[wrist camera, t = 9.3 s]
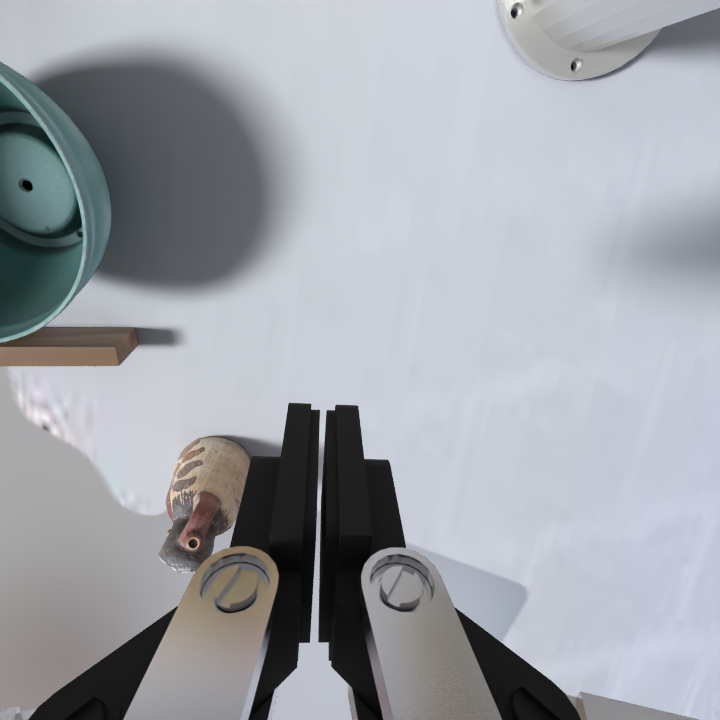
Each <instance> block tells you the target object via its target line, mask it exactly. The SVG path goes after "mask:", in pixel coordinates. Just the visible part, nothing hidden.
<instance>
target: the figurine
mask: <svg viewBox="0 0 720 720" xmlns="http://www.w3.org/2000/svg"><path fill="white" fill-rule="evenodd" d="M250 462H251V461H250V459H249V457H248V454H247V453H246V452H245V451H244V449H243V448H242V447H241V446H239V445H238V444H237V443H235V442H233V441H230V440H228V439H225V438H219V437H205V438H200V439H197V440H195V441H194V442H192V443H191V444H189V445H188V446H187V447H186V448H185V449H184V450H183V451H182V452H181V454H180V456H179V458H178V460H177V462H176V465H175V469H174V475H173V479H172V482H171V485H170V488H169V492H168V494H167V498H166V506H167V510H168V514H169V516H170V518H171V519H172V521H173V527H172V529H171V530H169V531H167V539H166V541H165V543H164V544H163V546H162V549H161V550H160V552H159V557H160V559H161V560H162V561H163V562H164V563H166V564H167V565H169V566H171V567H172V568H173V569H174V570H175V571H177V572H180V573H186V572H192V571H197V569H198V568H199V566H200V565H201V564H202V563H203V562H204V561H205V560H207V559H208V558H209V557H210V556H211V554H212V551H213V547H214V539H215V536H217V535H220V534H222V533H224V532H225V531H227V530H228V529H230V528H231V526H232V525H233V523H234V521H235V520H236V519H237V515H238V511H239V507H240V503H241V499H242V495H243V491H244V486H245V482H246V478H247V474H248V470H249V466H250Z"/></svg>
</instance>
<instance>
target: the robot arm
mask: <svg viewBox="0 0 720 720" xmlns="http://www.w3.org/2000/svg"><path fill="white" fill-rule="evenodd" d="M497 5H498V11H499V17H500V19H501V22H502V25H503V28H504V31H505V33H506V36H507V38H508V39H509V41H510V43H511V44H512V46H513V48H514V50H515V51H516V52H517V54H518V55H519V56H520V57H521V58H522V59H523V60H524V61H525V62H526V63H527V64H528V65H529V66H531V67H532V68H534V69H535V70H537V71H538V72H539V73H541V74H544V75H546V76H549V77H552V78H554V79H560V80H569V81H574V80H583V79H589V78H593V77H596V76H600V75H604V74H606V73H608V72H610V71H613V70H615V69H617V68H619V67H621V66H622V65H624V64H625V63H627V62H628V61H630V60H631V59H633V58H634V57H635V56H637V55H638V54H639V53H640V52H641V51H642V50H643V49H644V48H645V47H646V46H647V45H648V44H649V43H650V42H652V40H653V39H654V38H655V37H656V35H657V34H658V33H659V32H660V31H661V29H662V28H663V27H666V26H669V25H671V24H674V23H677V22H680V21H683V20H686V19H689V18H692V17H695V16H697V15H700V14H703V13H706V12H709V11H712V10H715V9H718V8H720V0H497ZM511 10H513V11H514V12H515V18H512V16H511ZM571 63H572V64H573V67H574V68H573V70H571ZM319 419H320V410H311V404H302V403H289V405H288V412H287V419H286V425H285V432H284V439H283V446H282V452H281V457H262V456H253V457H252V458H251V462H250V466H249V470H248V474H247V478H246V482H245V486H244V491H243V495H242V499H241V503H240V507H239V511H238V515H237V520H236V524H235V528H234V533H233V536H232V541H231V545H230V548H228V549H224V550H222V551H219V552H217V553H215V554H214V555H211V556H210V557H209V558H208V559H207V560H205V561H204V562H203V563H202V564H201V565H200V566H199V568H198V569H197V571H196V572H195V574H194V575H193V577H192V579H191V581H190V583H189V585H188V587H187V590H186V591H185V593H184V595H183V597H182V599H181V602H180V604H179V606H177V607H176V608H174V609H173V610H172V611H170V612H169V613H167V614H166V615H165V616H163V617H162V618H160V619H159V620H157V621H156V622H155V623H153V624H152V625H150V626H149V627H148V628H146V629H145V630H143V631H142V632H140V633H139V634H138V635H136V636H135V637H133V638H132V639H131V640H129V641H128V642H126V643H125V644H123V645H122V646H121V647H119V648H118V649H116V650H115V651H114V652H112V653H111V654H109V655H108V656H107V657H106V658H104V659H102V660H101V661H100V662H98V663H97V664H95V665H94V666H92V667H91V668H90V669H88V670H87V671H85V672H84V673H82V674H81V675H80V676H78V677H77V678H76V679H74V680H73V681H71V682H70V683H68V684H67V685H66V686H64V687H63V688H61V689H60V690H58V691H57V692H56V693H54V694H53V695H52V696H51V697H50V698H49V699H47V700H46V701H45V702H44V703H43V704H42V705H40V706H39V707H38V708H36V709H32V710H28V711H24V712H21V711H20V709H19V707H18V706H16V707H12V708H8V709H4V710H0V720H272V716H273V712H274V707H275V703H276V698H277V691H278V686H279V685H280V684H281V682H283V681H284V680H285V679H286V678H287V677H288V676H289V675H290V674H291V673H292V672H293V671H294V670H295V669H296V668H297V661H298V650H299V643H310V629H311V613H312V595H313V577H314V561H315V542H316V518H317V485H318V452H319ZM319 642H329V661H332V662H331V663H332V664H331V665H332V666H331V667H332V668H333V669H334V670H335V671H336V672H337V673H338V674H339V675H340V676H341V677H342V678H343V679H344V680H345V681H346V682H347V683H348V698H349V704H350V710H351V715H352V720H697V719H694V718H690V717H686V716H682V715H677V714H673V713H669V712H665V711H660V710H656V709H652V708H648V707H643V706H639V705H635V704H631V703H626V702H622V701H618V700H614V699H609V698H605V697H601V696H597V695H592V694H588V693H584V692H580V693H579V695H578V697H573V696H569V695H566V694H565V693H564V692H563V691H562V690H561V689H560V688H559V687H557V686H556V685H555V684H554V683H553V682H552V681H551V680H549V679H548V678H547V677H546V676H544V675H543V674H542V673H540V672H539V671H538V670H536V669H535V668H534V667H532V666H531V665H530V664H528V663H527V662H526V661H525V660H523V659H522V658H521V657H519V656H518V655H517V654H515V653H514V652H513V651H511V650H510V649H509V648H507V647H506V646H505V645H504V644H502V643H501V642H500V641H498V640H497V639H495V638H494V637H493V636H492V635H490V634H489V633H488V632H486V631H485V630H484V629H482V628H481V627H480V626H478V625H477V624H476V623H475V622H473V621H472V620H471V619H469V618H468V617H467V616H465V615H464V614H463V613H462V612H460V611H459V610H457V609H456V608H455V607H454V606H453V603H452V601H451V598H450V596H449V594H448V592H447V589H446V587H445V584H444V582H443V580H442V577H441V575H440V574H439V572H438V570H437V569H436V567H435V566H434V564H432V563H431V562H430V561H429V560H428V559H427V558H426V557H425V556H423V555H421V554H419V553H417V552H416V551H413V550H410V549H406V545H405V540H404V534H403V529H402V524H401V519H400V513H399V508H398V503H397V498H396V493H395V487H394V482H393V477H392V472H391V466H390V463H389V461H388V460H375V459H364V454H363V445H362V436H361V427H360V419H359V410H358V406H355V405H336V406H335V411H332V410H327V414H326V430H325V446H324V463H323V479H322V495H321V534H320V587H319Z"/></svg>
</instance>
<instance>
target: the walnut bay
mask: <svg viewBox="0 0 720 720" xmlns="http://www.w3.org/2000/svg"><path fill="white" fill-rule="evenodd" d="M137 346H138V341H137V336H136V331H135V328H87V327H42V328H40V329H39V330H37V331H35V332H32V333H30V334H28V335H26V336H23V337H20V338H17V339H14V340H10V341H7V342H2V343H0V366H119V365H120V364H121V363H122V362H123V361H124V360H125V359H126V358H127V357H128V356H129V354H130V353H131V352H132V351H133V350H134V349H135V348H136V347H137Z"/></svg>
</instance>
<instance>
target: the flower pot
mask: <svg viewBox="0 0 720 720" xmlns="http://www.w3.org/2000/svg"><path fill="white" fill-rule="evenodd" d="M24 180H26V181H29V182H31V183H32V186H33V189H32V190H31V191H28V190H27V189H25V188H24V187H23V185H22V184H23V181H24ZM111 219H112V212H111V199H110V194H109V189H108V185H107V182H106V178H105V175H104V172H103V170H102V167H101V165H100V163H99V161H98V159H97V157H96V155H95V153H94V151H93V149H92V148H91V146H90V144H89V143H88V141H87V140H86V138H85V137H84V135H83V134H82V133H81V131H80V130H79V129H78V127H77V126H76V125H75V124H74V122H73V121H72V120H71V119H70V118H69V117H68V116H67V114H66V113H65V112H64V111H63V110H62V109H61V108H60V107H59V106H58V105H57V104H56V103H55V102H54V101H53V100H52V99H51V98H50V97H48V96H47V95H46V94H45V93H44V92H43V91H42V90H40V89H39V88H38V87H37V86H35V85H34V84H33V83H31V82H30V81H29V80H27V79H26V78H25V77H24V76H22V75H21V74H19V73H18V72H16V71H15V70H13V69H11V68H10V67H8V66H7V65H5V64H3V63H2V62H0V343H2V342H7V341H10V340H14V339H17V338H20V337H23V336H26V335H28V334H30V333H32V332H35V331H37V330H39V329H40V328H42V327H43V326H45V325H46V324H48V323H49V322H50V321H52V320H53V319H54V318H55V317H56V316H58V315H59V314H60V313H61V312H62V311H63V310H64V309H65V308H66V307H67V306H68V305H69V304H70V302H71V301H72V300H73V299H74V297H75V296H76V295H77V294H78V293H79V292H80V291H81V290H82V288H83V287H84V286H85V285H86V284H87V282H88V281H89V280H90V278H91V277H92V275H93V274H94V272H95V271H96V269H97V267H98V266H99V264H100V262H101V260H102V258H103V255H104V253H105V250H106V247H107V244H108V240H109V236H110V231H111ZM79 232H83V236H80V235H79Z"/></svg>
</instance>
